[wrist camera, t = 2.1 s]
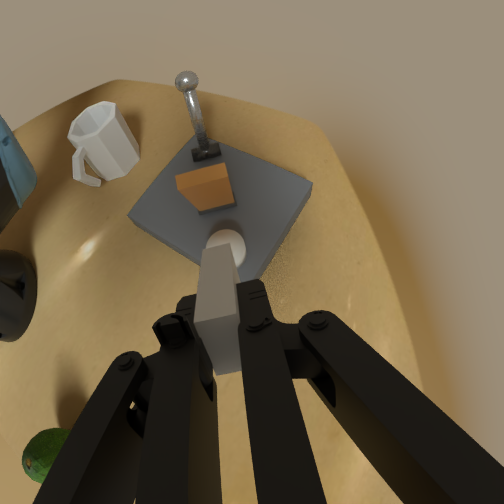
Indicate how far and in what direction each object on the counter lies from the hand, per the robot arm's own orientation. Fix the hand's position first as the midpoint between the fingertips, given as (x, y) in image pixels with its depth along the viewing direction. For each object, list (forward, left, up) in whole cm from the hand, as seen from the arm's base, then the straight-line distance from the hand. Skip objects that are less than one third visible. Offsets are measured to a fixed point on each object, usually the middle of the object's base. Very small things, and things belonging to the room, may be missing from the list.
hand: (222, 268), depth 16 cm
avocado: (-8, -29, -17) cm, 34 cm away
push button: (-5, +4, -14) cm, 15 cm away
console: (-10, +9, -17) cm, 22 cm away
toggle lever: (-15, +14, -13) cm, 24 cm away
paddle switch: (-9, +8, -13) cm, 18 cm away
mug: (-30, +7, -17) cm, 36 cm away
